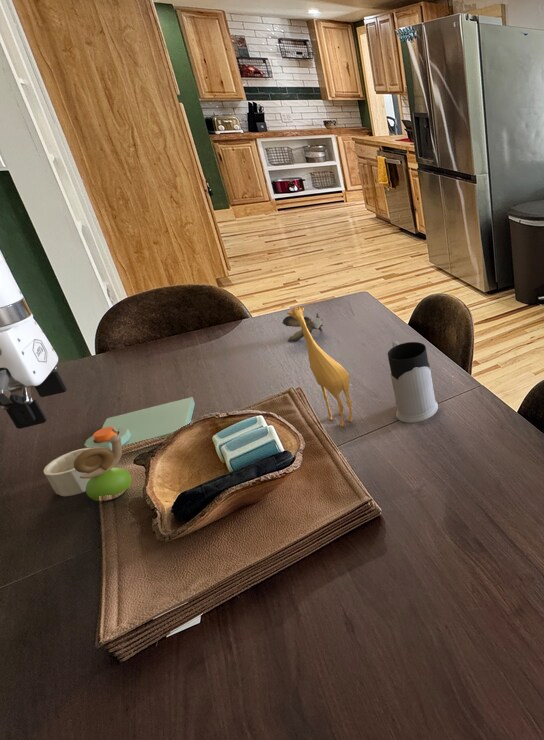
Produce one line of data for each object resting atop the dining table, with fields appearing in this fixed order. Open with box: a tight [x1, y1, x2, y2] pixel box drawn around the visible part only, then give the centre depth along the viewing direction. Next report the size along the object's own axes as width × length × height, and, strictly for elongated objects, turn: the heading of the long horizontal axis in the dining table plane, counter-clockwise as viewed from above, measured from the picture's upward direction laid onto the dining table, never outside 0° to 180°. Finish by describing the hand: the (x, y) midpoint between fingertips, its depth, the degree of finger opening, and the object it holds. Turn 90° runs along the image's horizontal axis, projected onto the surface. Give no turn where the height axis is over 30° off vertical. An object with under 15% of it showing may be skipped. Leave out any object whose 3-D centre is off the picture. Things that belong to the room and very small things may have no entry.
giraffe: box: [286, 305, 354, 427], centre depth 97 cm, size 16×4×25 cm, turn 56°
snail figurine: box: [74, 428, 133, 502], centre depth 80 cm, size 5×6×12 cm
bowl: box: [42, 447, 90, 497], centre depth 83 cm, size 7×7×5 cm
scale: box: [83, 396, 196, 450], centre depth 96 cm, size 14×14×4 cm
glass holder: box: [387, 340, 439, 424], centre depth 103 cm, size 9×14×15 cm, turn 39°
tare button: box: [92, 427, 116, 443], centre depth 90 cm, size 3×3×2 cm
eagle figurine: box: [281, 312, 324, 343], centre depth 134 cm, size 8×7×9 cm
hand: (44, 408), depth 78 cm, fingers open, 9 cm apart
